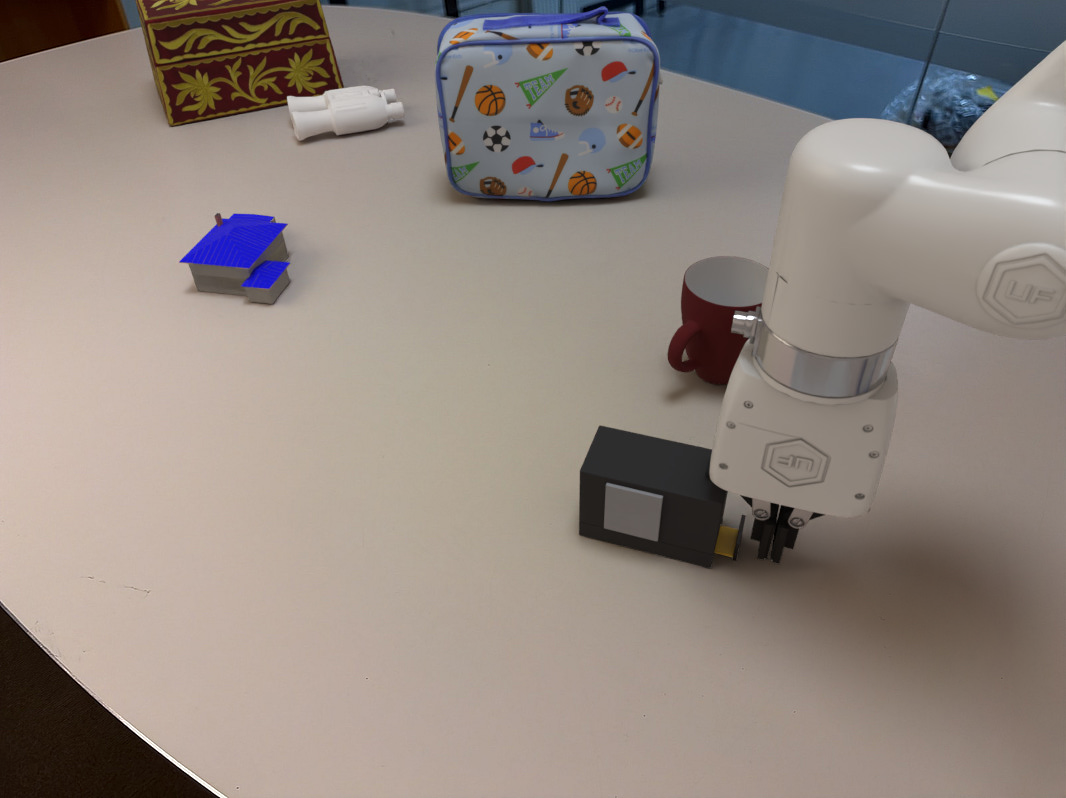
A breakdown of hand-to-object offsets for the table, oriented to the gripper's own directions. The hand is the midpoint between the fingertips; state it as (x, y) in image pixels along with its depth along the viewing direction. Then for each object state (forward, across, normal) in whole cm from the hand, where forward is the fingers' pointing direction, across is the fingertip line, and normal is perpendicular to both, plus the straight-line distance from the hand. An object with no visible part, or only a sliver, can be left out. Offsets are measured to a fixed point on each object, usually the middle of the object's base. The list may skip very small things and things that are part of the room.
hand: (770, 546), depth 59 cm
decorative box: (+1, -93, +70) cm, 116 cm away
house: (+1, -61, +22) cm, 65 cm away
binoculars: (+1, -70, +62) cm, 93 cm away
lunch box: (+1, -34, +51) cm, 61 cm away
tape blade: (+1, -8, 0) cm, 8 cm away
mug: (+1, -8, +19) cm, 21 cm away
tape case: (+1, -9, 0) cm, 9 cm away
